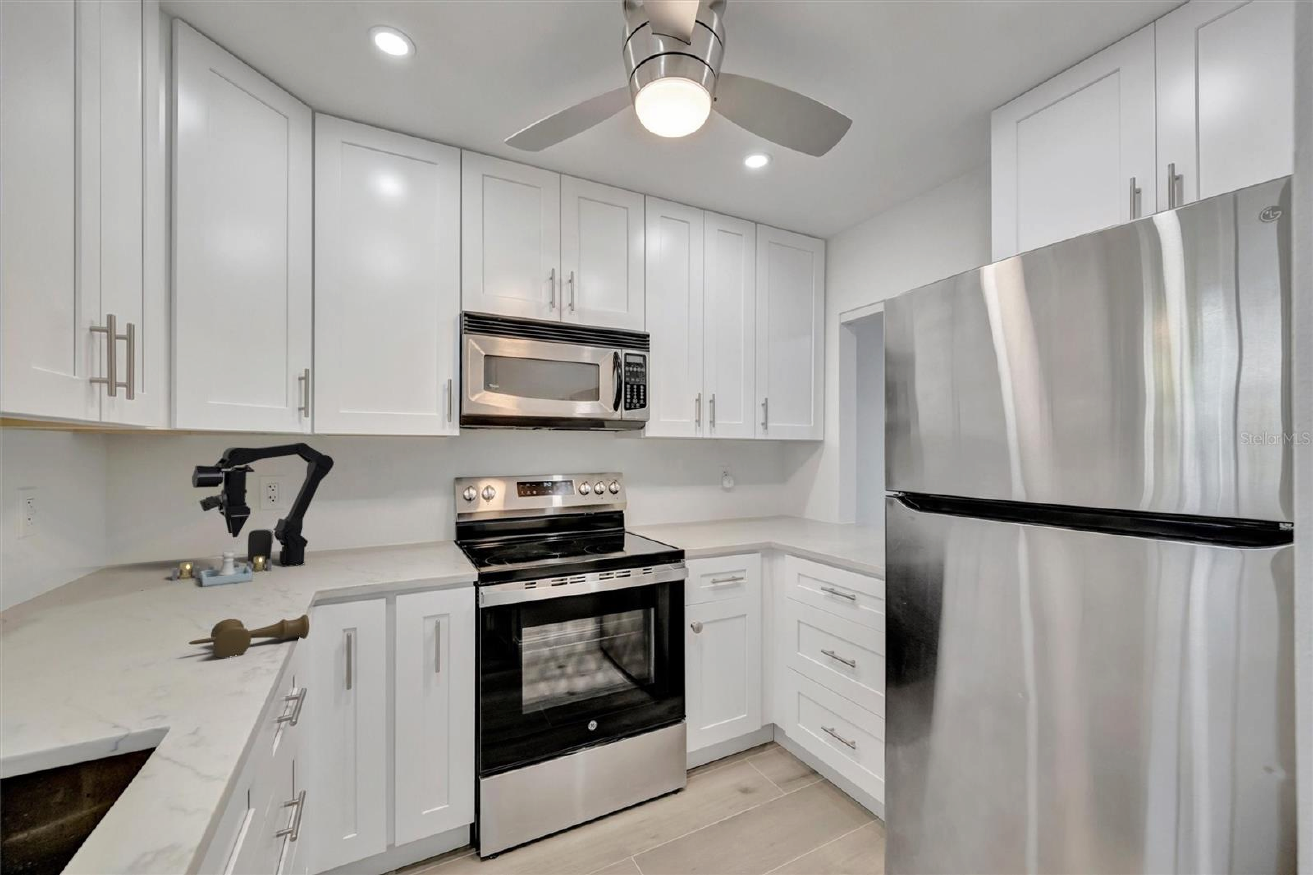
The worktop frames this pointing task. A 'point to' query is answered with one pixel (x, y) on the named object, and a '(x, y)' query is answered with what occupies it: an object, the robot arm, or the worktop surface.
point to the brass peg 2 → (259, 563)
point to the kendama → (251, 634)
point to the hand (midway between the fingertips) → (232, 535)
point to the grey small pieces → (211, 567)
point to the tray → (226, 577)
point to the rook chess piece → (227, 564)
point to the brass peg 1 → (186, 570)
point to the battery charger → (260, 544)
